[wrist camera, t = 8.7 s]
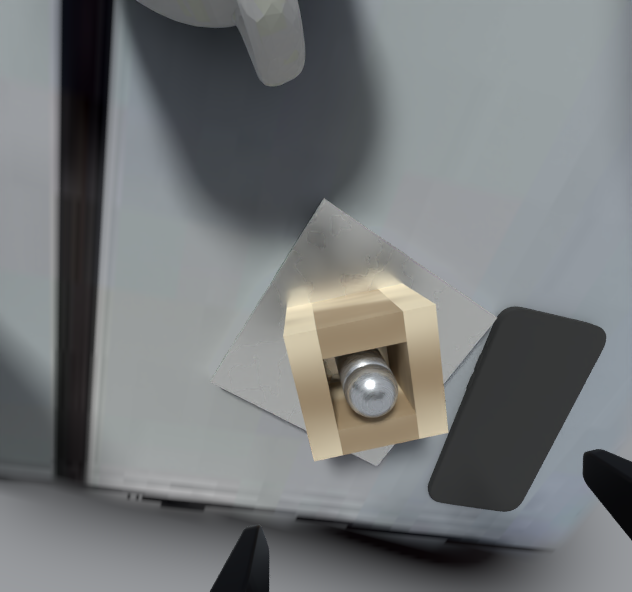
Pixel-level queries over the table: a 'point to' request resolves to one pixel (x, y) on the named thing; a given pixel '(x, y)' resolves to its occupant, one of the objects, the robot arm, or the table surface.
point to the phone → (514, 408)
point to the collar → (359, 335)
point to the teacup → (249, 30)
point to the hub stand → (331, 282)
